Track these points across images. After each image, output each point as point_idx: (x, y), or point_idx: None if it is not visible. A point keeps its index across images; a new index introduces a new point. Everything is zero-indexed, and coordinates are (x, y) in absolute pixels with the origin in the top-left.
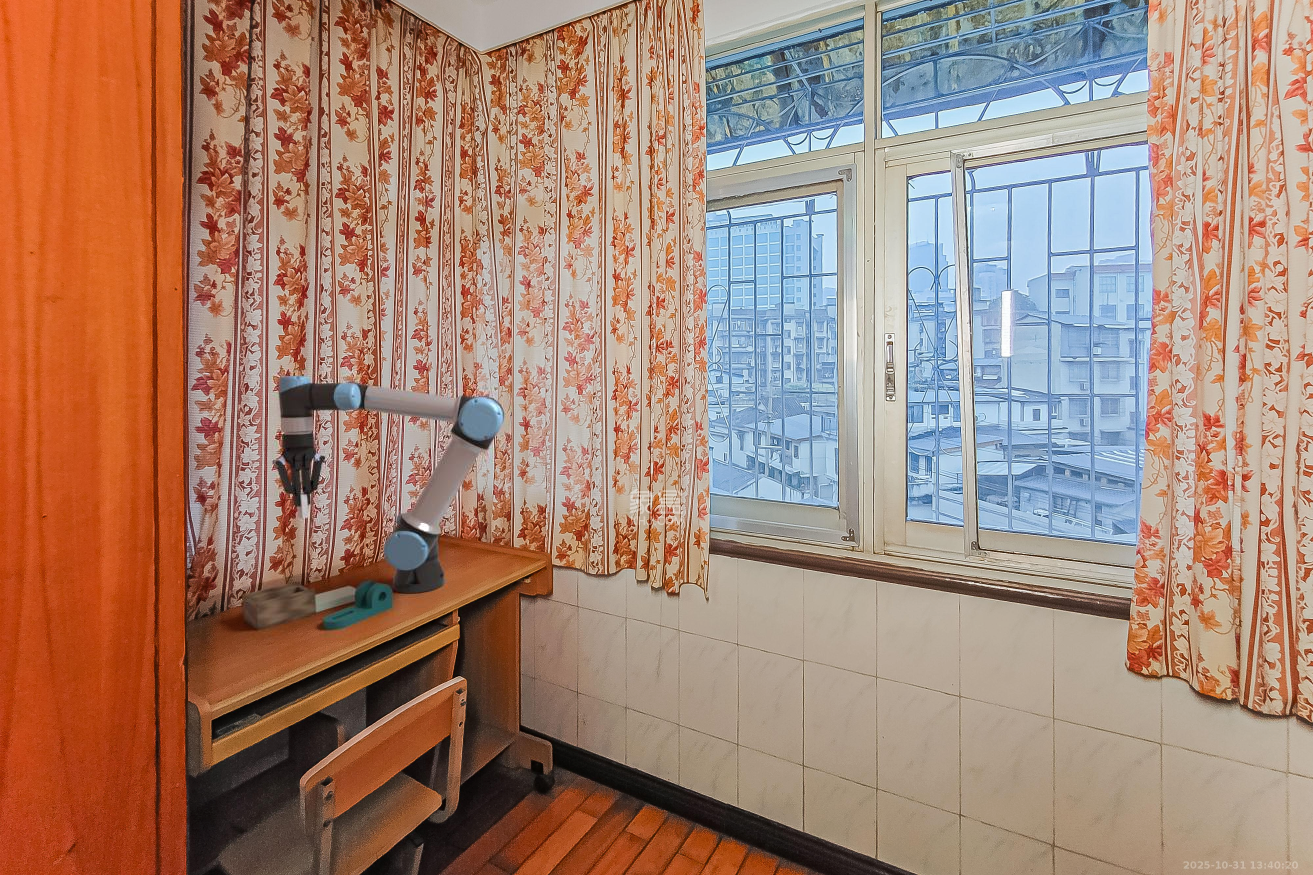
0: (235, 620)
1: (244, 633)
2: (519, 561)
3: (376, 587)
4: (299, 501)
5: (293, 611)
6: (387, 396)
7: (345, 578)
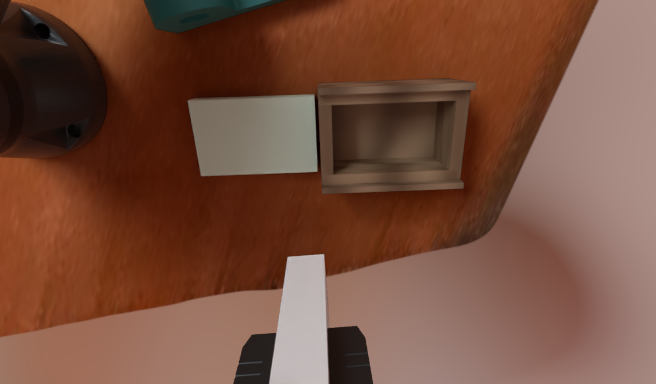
0: None
1: None
2: None
3: None
4: (338, 362)
5: (373, 82)
6: None
7: (186, 268)
